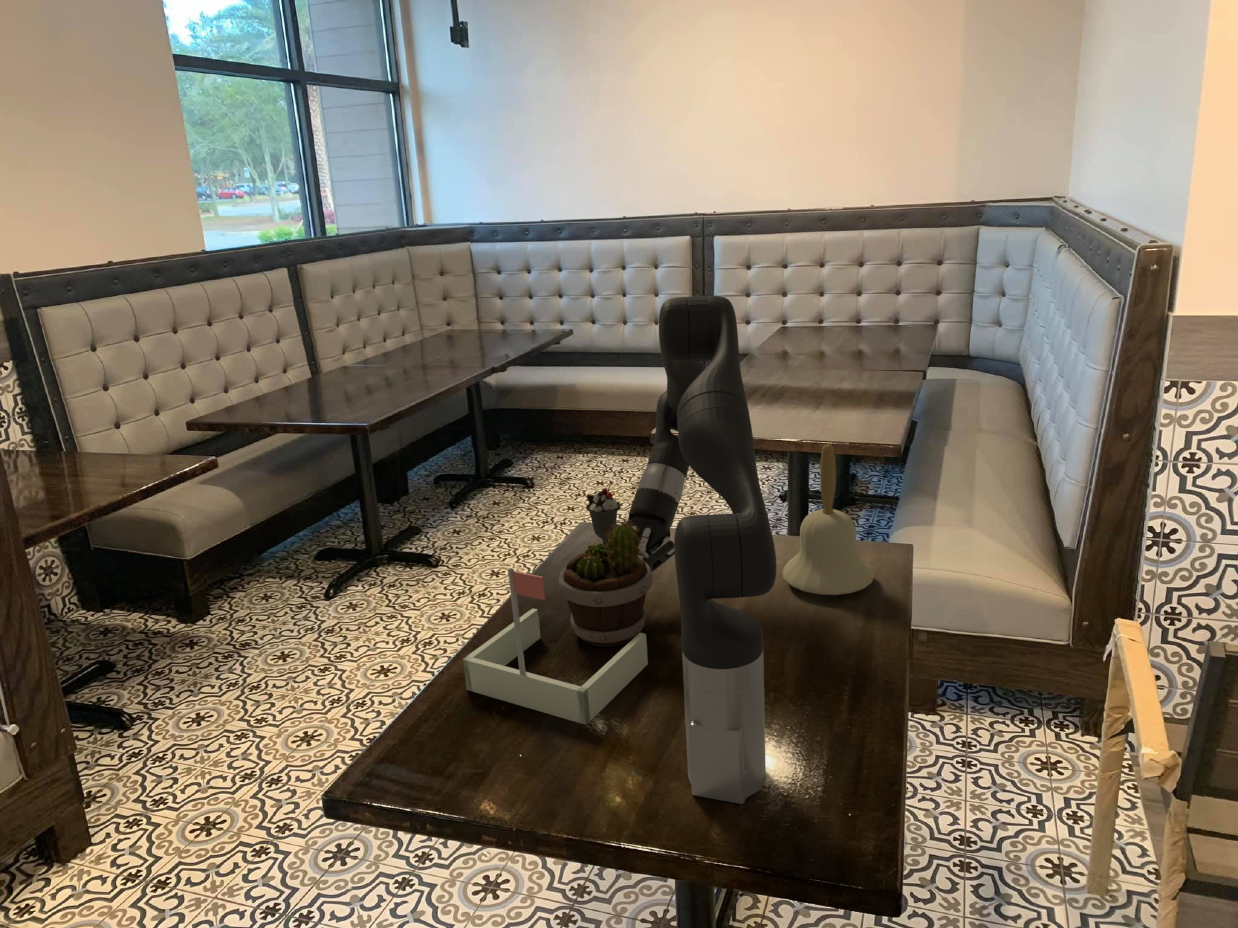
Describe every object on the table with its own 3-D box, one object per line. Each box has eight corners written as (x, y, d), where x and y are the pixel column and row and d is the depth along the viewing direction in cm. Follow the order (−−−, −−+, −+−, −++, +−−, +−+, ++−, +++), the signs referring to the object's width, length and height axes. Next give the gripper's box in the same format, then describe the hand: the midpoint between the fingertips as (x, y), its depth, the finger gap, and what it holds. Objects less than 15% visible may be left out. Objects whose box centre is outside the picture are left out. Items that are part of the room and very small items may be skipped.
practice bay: (535, 636, 143) (522, 515, 137) (647, 663, 133) (639, 534, 127) (466, 689, 130) (448, 557, 123) (586, 724, 119) (573, 582, 113)
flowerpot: (551, 653, 138) (539, 533, 132) (579, 607, 152) (569, 497, 146) (644, 660, 134) (635, 536, 128) (663, 612, 149) (657, 498, 142)
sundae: (629, 557, 170) (624, 483, 166) (596, 565, 168) (590, 489, 164) (617, 545, 176) (611, 473, 172) (584, 552, 174) (578, 479, 169)
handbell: (767, 592, 153) (765, 452, 145) (802, 558, 165) (801, 427, 157) (856, 610, 145) (858, 462, 137) (886, 573, 156) (889, 436, 149)
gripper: (615, 481, 153) (582, 576, 147) (685, 490, 146) (653, 589, 140) (632, 501, 159) (601, 592, 153) (700, 510, 152) (670, 606, 146)
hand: (626, 590), depth 146 cm, fingers closed
